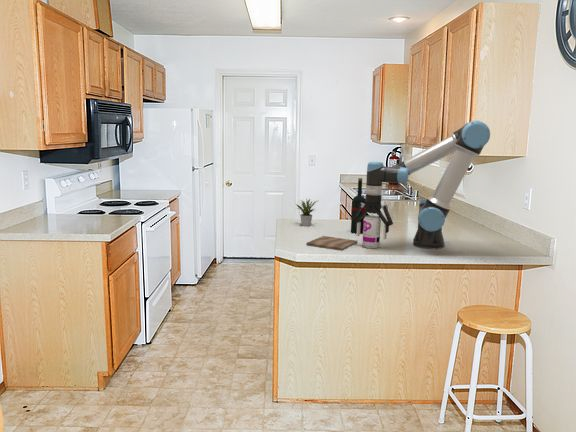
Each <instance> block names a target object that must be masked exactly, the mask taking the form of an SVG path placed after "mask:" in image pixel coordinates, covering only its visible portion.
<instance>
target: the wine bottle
mask: <svg viewBox="0 0 576 432" xmlns="http://www.w3.org/2000/svg"><path fill="white" fill-rule="evenodd" d="M357 179H358V181H357V195H355V196H354V197H353V198H352V203H351V217H350V218H351V219H350V220H351V221H350V233H351V234H354V233H355V235H357V229H356V228H355V221H352V218H353V216H354V214H355V213H356V211H357V209H358V207H359V203H364V204H365V199H366V197H365V196H364V195H362V191H363V178H362V177H359V178H357ZM365 210H366V208H365V206H364V207H363V208H362V209H361V211H360V213H359V215H358V217H359V216H360V215H361V214H362V213H363V212H364V211H365ZM365 216H367V214H366V215H365ZM365 216H364V217H363V218H362V219H361V220H360V221H359V222H361V226H360V235H363V223H364V218H365ZM358 217H357V218H358ZM357 218H356V219H357Z"/></svg>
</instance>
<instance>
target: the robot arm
mask: <svg viewBox="0 0 576 432" xmlns="http://www.w3.org/2000/svg"><path fill="white" fill-rule="evenodd" d="M490 137H491V131H490V128H489V126H488V124H486V123H485V122H483V121H481V120H472V121H469V122H467V123H465V124H464V125H463V126H461V127H460V128H459V129H457V130H455V131H454V132H452V133H451V134H450V136H448V137H446V138H445V139H443V140H441V141H439V142H437V143H435V144H433V145H431V146H429V147H427V148H426V149H423V150H422V151H419V152H418V153H416V154H414V155H412V156H410V157H409V158H406V159H405V160H403V161H401V162H399V163H397V164H395V165H392V166H385V165H384V162H381V161H369V162H368V163H367V167H366V181H365V182H366V185H365V193H366V194H365V204H364V203H359V207H358V209H357V211H356V213H355V214H354V216H353V218H352V221H355V228H356V229H357V234H356V237H359V236H360V235H361V234H360V226H361V222H359V221H360V220H361V219H362V218H363V217H364V216H365V215H366V216H367V214H374V215H375V214H376V216H379V217H380V219H381V222H382V223H383V224H384V225H383V234H382V240H384V241H385V240H387V237H388V234H387V233H389V231H390V226H392V225H394V222H393V219H392V217H391V214H390V212H389V209H388V205H387V204H385V205H383V204H382V193H383V183H389V184H392V183H393V184H408V182H409V176H410V175H412V174H415V173H416V172H418V171H420V170H422V169H425V168H426V167H428V166H430V165H432V164H434V163H435V162H437V161H440V160H441V159H444V158H445V157H447V156H449V155H451V154H453V153H454V154H453V155H452V157H451V159H450V161H449V163H448V164H447V167H446V168H445V171H444V173H443V174H442V176H441V178H440V180H439V182H438V183H437V185H436V187H435V190H434V191H433V194H432V195H431V196H428V197H426V199H420V200H419V204H418V216H417V230H416V233H415V234H414V237H413V241H412V245H413V246H416V247H419V248H423V249H433V248H436V249H442V248H444V247H445V239H444V236H443V231H442V230H443V227H444V225H445V223H446V218H447V217H448V214H449V213H450V210H451V207H450V203H451V201H452V199H453V198H454V195H455V194H456V192H457V190H458V189H459V187H460V184H461V183H462V181H463V179H464V177H465V175H466V173H467V171H468V170H469V167H470V166H471V164H472V162H473V160H474V159H475V158H476V157H478V156H480V154H481V153H482V151H483V149H484V147H485V146H486V145H487V144H488V143H489V141H490V139H491V138H490ZM364 206H365V208H366V210H365V211H364V212H363V213H362V214H361V215H360V216H359V217H358V215H359V213H360V211H361V209H362V208H363V207H364ZM381 209H382V210H383V212H384V214H383V212H382V211H381ZM357 217H358V218H357ZM356 218H357V219H356Z"/></svg>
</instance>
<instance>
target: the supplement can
mask: <svg viewBox="0 0 576 432" xmlns="http://www.w3.org/2000/svg"><path fill="white" fill-rule="evenodd" d="M381 225H382V220H381V218H380V217H379V216H378V215H375V214H374V215H366V216H365V218H364V223H363V234H362V242H361V245H362V246H363V247H364V248H366V249H378V248H379V247H380V245H381V244H380V243H381Z"/></svg>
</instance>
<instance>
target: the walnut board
mask: <svg viewBox="0 0 576 432" xmlns="http://www.w3.org/2000/svg"><path fill="white" fill-rule="evenodd" d="M356 244H358V240H355V239H349V238H341V237H334V236H327V235H322V236H320V237H318V238H314V239H313V240H310V241H307V242H306V246H309V247H310V246H311V247H317V248H323V249H327V250H328V249H330V250H335V251H342V252H343V251H345V250H346V249H348V248H350V247H352V246H355V245H356Z"/></svg>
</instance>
